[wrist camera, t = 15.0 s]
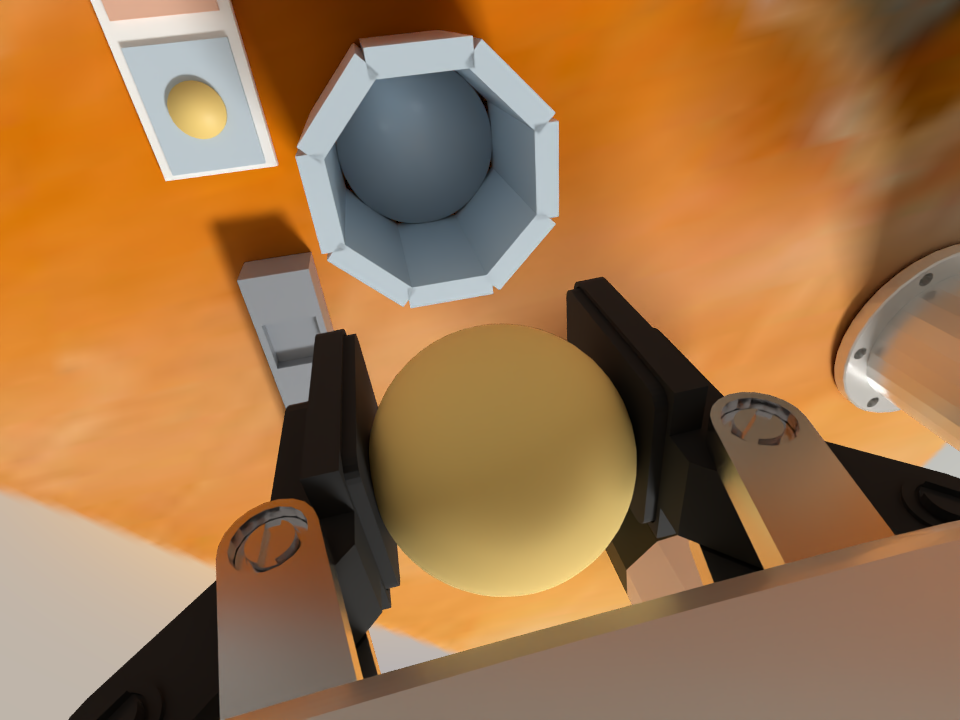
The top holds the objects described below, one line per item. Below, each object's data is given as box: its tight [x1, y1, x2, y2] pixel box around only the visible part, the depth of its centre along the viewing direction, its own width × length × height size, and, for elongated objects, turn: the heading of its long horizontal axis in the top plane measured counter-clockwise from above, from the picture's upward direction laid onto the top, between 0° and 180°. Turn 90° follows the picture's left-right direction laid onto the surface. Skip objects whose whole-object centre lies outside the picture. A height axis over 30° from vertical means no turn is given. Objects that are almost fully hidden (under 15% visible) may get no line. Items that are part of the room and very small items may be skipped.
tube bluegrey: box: [295, 30, 559, 308], centre depth 20 cm, size 8×8×7 cm
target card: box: [91, 0, 278, 181], centre depth 19 cm, size 4×10×1 cm, turn 5°
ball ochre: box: [369, 324, 637, 597], centre depth 9 cm, size 4×4×4 cm
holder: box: [237, 252, 334, 408], centre depth 28 cm, size 3×16×2 cm, turn 5°
